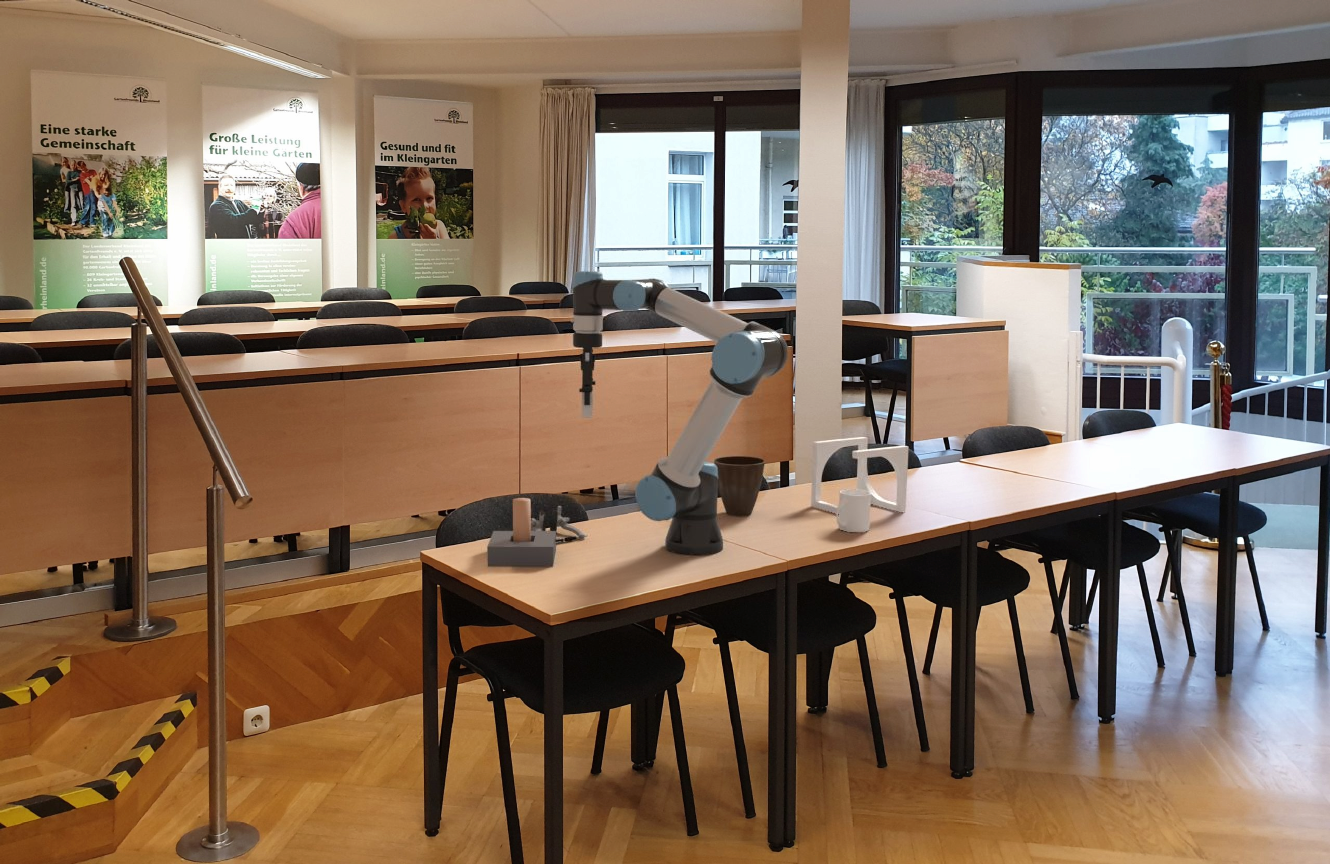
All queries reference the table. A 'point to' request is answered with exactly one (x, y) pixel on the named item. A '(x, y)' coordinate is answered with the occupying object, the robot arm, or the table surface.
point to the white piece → (860, 470)
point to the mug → (854, 510)
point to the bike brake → (556, 525)
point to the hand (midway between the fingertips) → (587, 413)
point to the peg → (521, 520)
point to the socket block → (521, 550)
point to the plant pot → (739, 483)
